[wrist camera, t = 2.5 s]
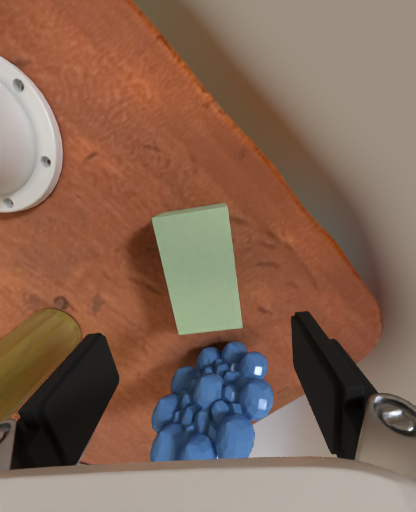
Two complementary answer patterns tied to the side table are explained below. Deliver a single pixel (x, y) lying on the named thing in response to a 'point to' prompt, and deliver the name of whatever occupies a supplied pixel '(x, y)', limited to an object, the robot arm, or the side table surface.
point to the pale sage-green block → (199, 268)
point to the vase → (33, 355)
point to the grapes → (212, 406)
